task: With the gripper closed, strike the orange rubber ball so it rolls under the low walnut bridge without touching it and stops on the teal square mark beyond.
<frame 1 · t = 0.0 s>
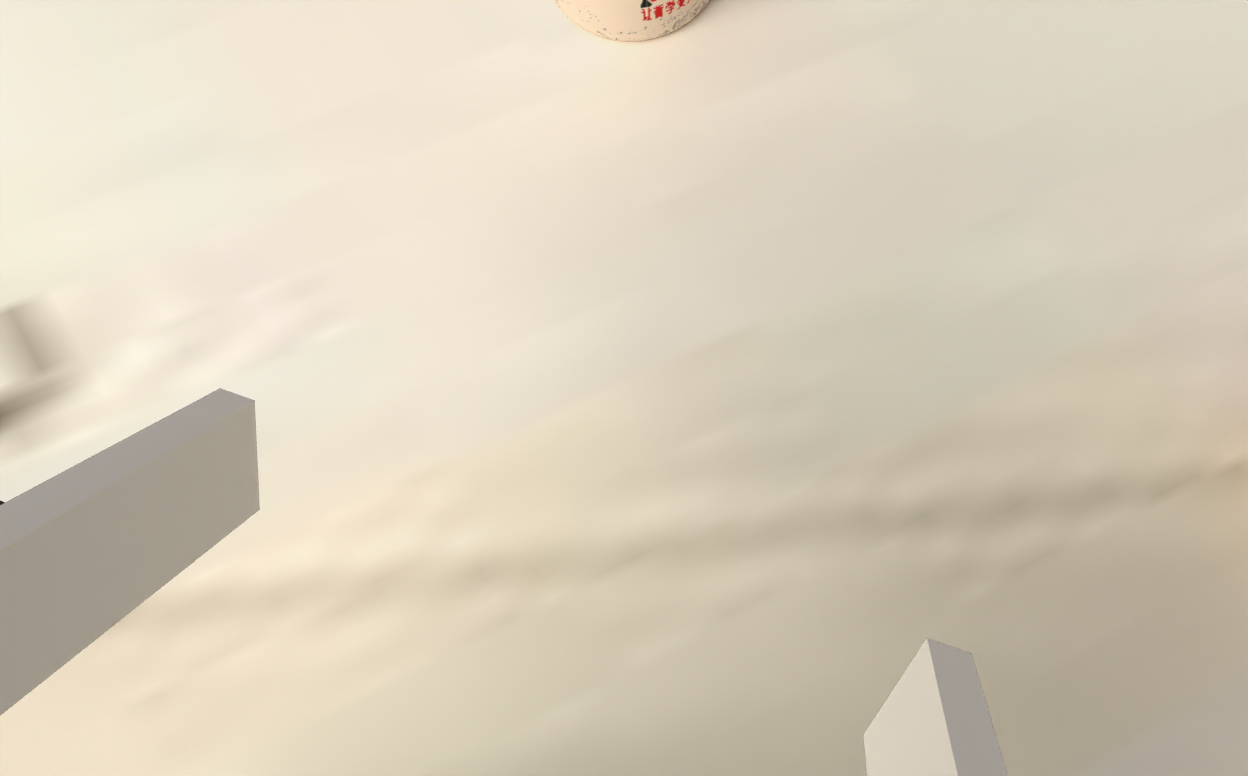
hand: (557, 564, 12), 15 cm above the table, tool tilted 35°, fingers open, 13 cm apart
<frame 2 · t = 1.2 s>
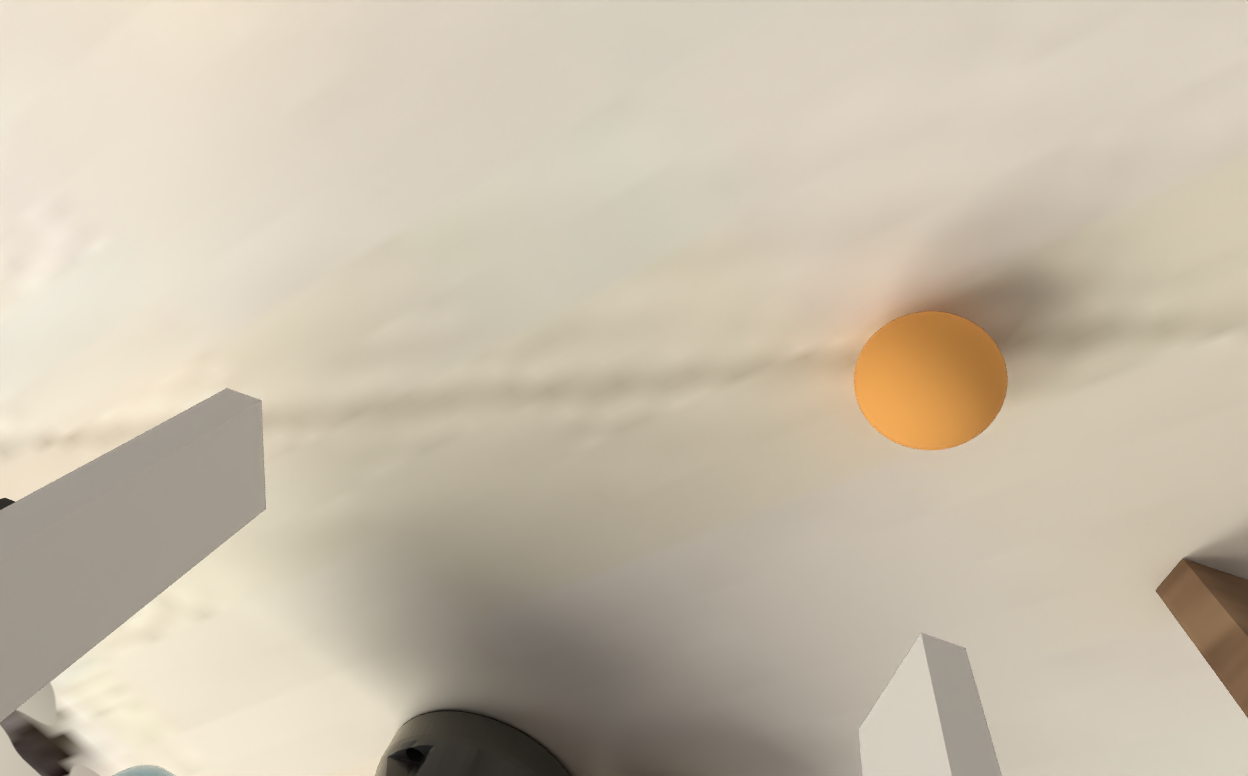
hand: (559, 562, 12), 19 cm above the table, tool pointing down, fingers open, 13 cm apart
ball: (927, 380, 26), on the table
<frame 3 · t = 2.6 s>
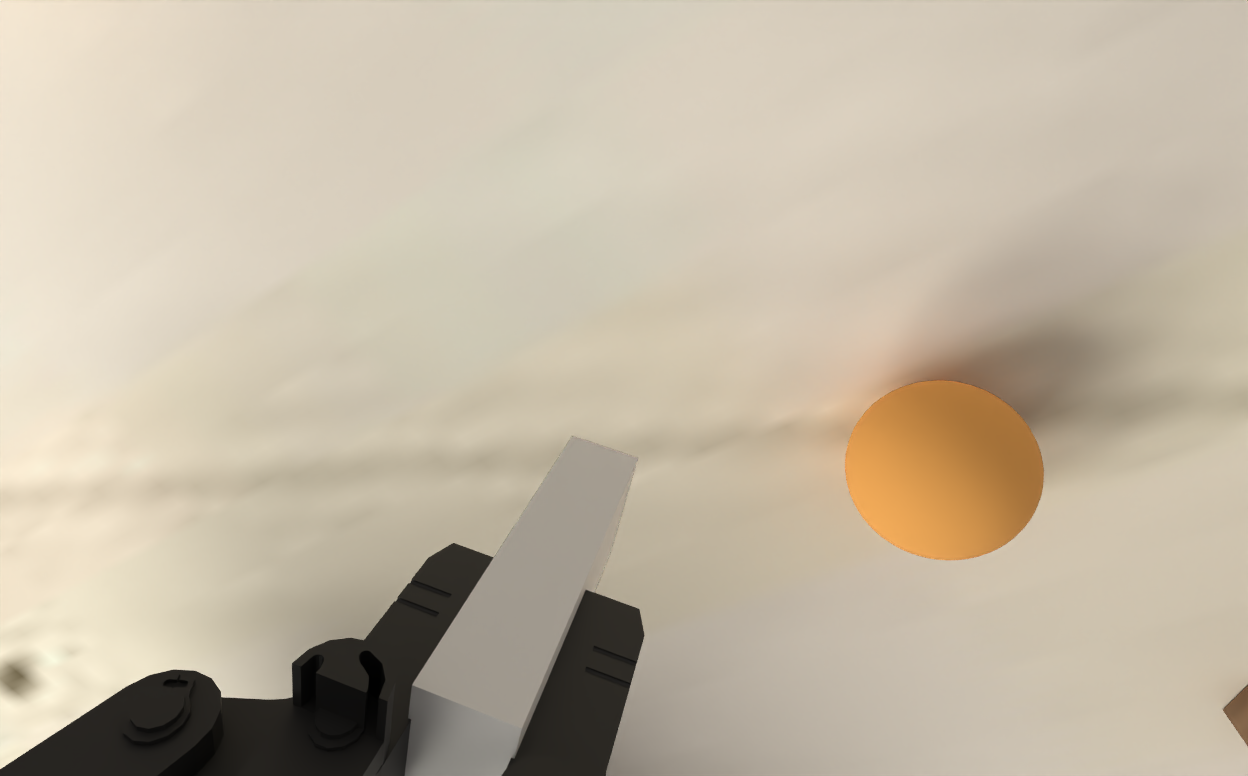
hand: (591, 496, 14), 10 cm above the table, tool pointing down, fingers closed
ball: (938, 468, 20), on the table
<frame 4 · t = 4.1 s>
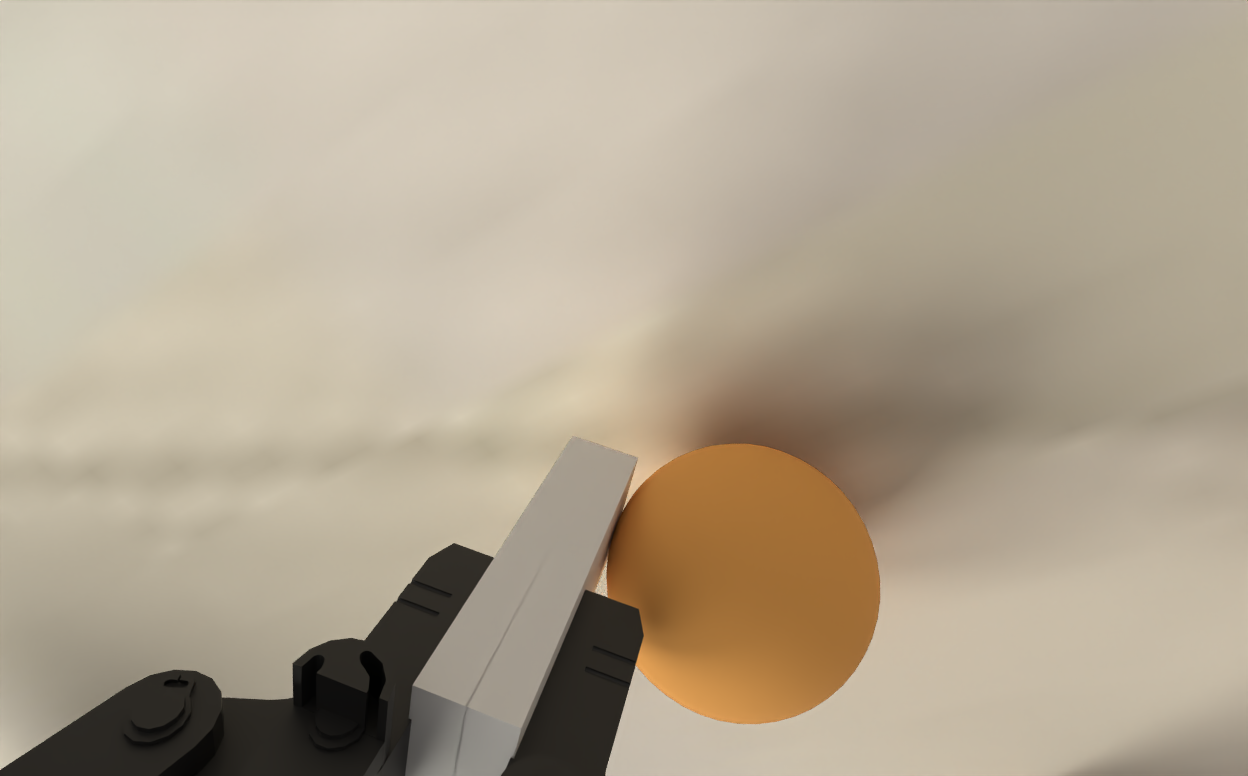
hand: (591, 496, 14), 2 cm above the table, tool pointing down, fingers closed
ball: (738, 575, 14), on the table
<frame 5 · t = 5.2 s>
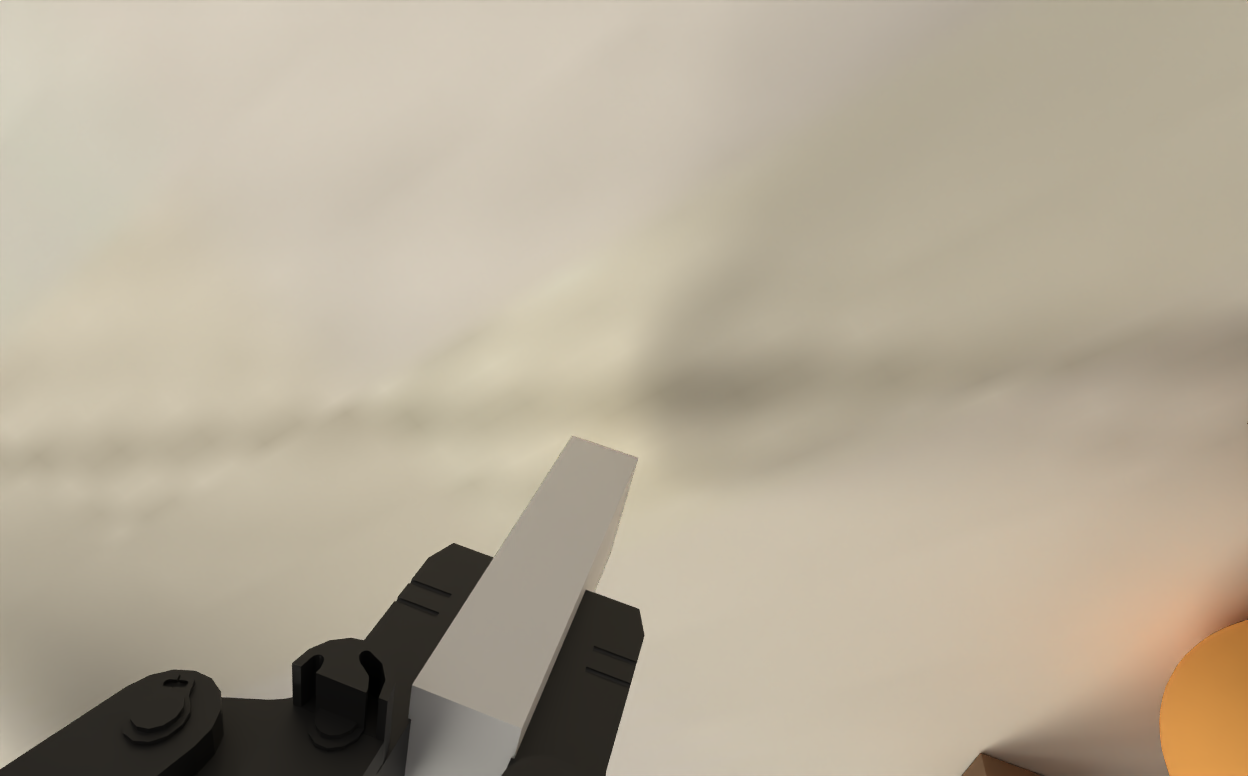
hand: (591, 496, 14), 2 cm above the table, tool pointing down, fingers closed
bridge: (1160, 638, 15), on the table
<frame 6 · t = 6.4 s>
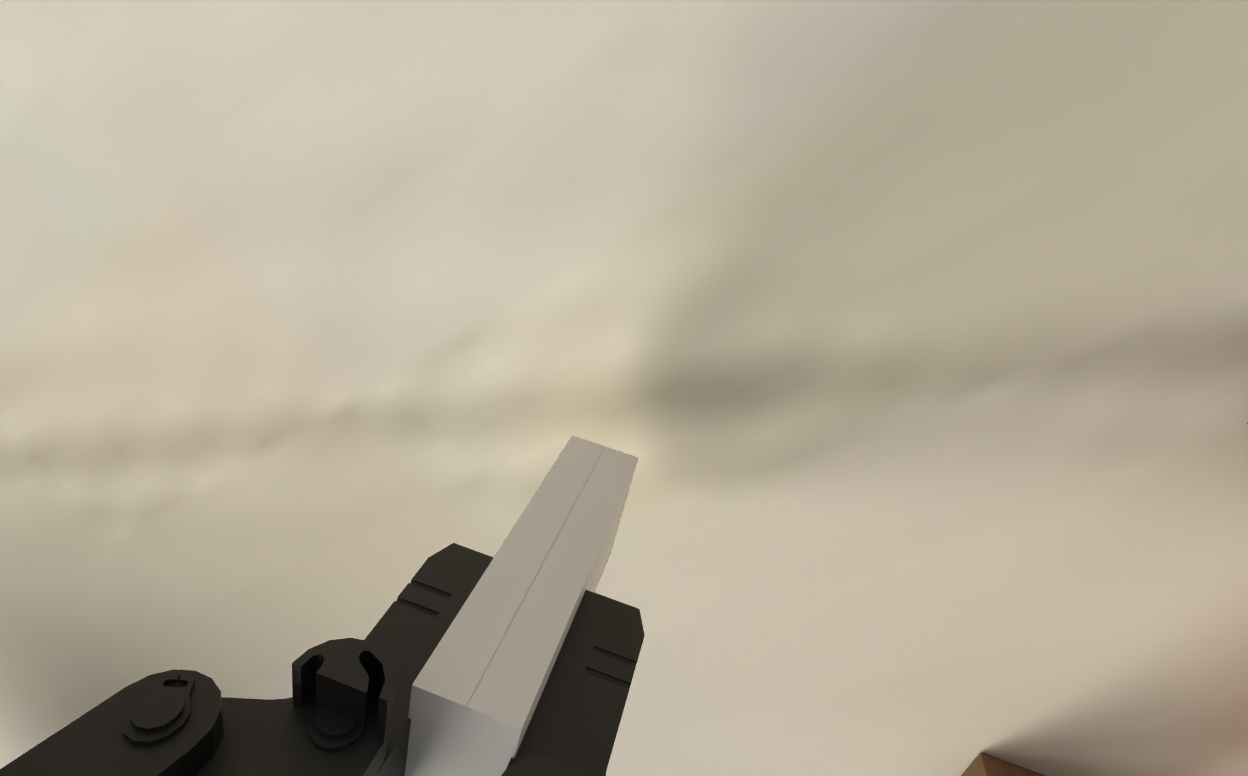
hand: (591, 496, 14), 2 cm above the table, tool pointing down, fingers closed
bridge: (1160, 638, 15), on the table
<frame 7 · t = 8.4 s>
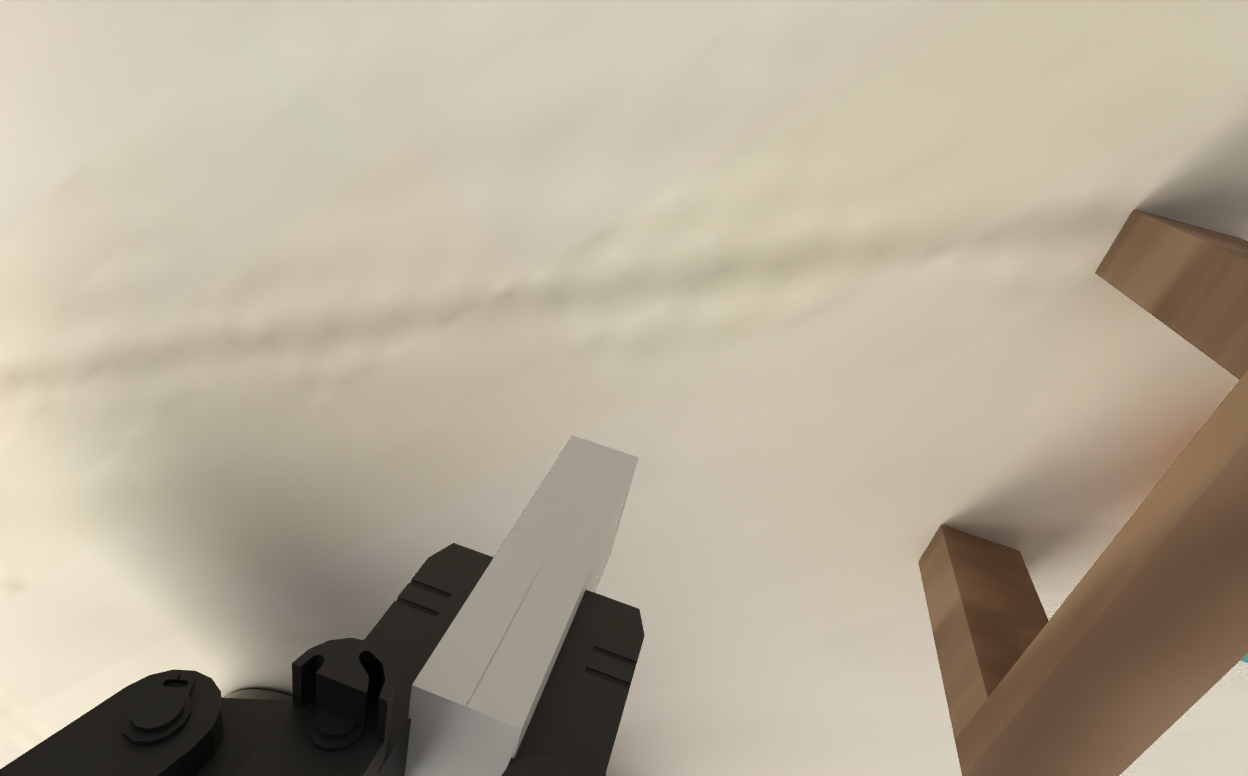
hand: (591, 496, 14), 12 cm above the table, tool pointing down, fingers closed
bridge: (1053, 426, 23), on the table
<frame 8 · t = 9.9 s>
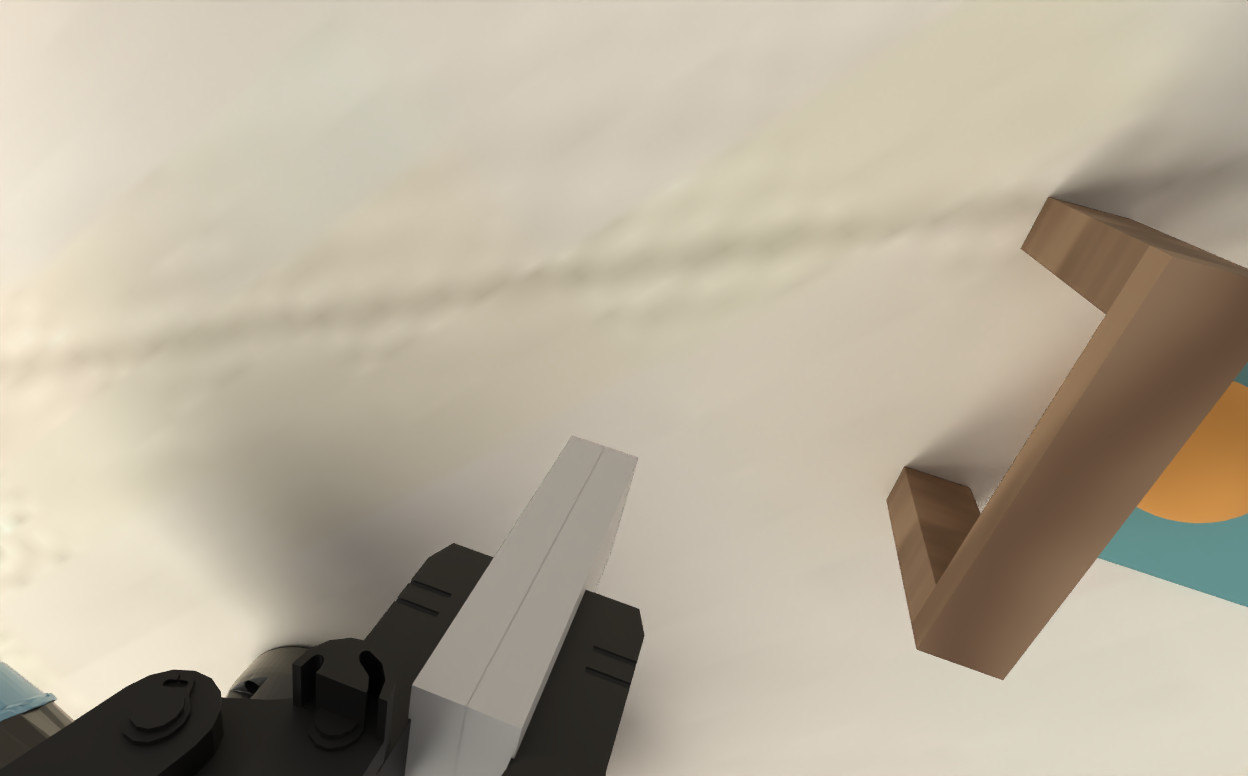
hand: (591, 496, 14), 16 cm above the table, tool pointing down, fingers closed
ball: (1186, 447, 24), on the table
bridge: (993, 378, 27), on the table
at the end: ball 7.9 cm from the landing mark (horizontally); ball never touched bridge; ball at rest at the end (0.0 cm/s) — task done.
